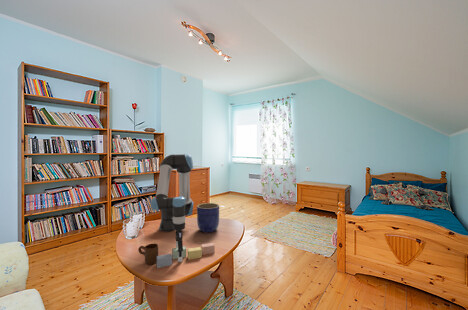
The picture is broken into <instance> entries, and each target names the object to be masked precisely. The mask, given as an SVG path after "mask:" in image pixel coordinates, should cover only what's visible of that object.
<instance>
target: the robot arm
mask: <svg viewBox="0 0 468 310" xmlns="http://www.w3.org/2000/svg"><path fill="white" fill-rule="evenodd" d="M158 169H159V176H158V180H157V187H156V193H155V197H154V198H153V197H152V198H151V200H150V209H151V210H152V211H153V210H154V211H160V213H161V214H160V215H161V216H160V217H161V219H160V223H159V225H158V230H159V231H160V232H162V233H167V232H168V233H169V232H173V231H175V248H178V250H177V252H178V258H177V262H178V263H182V262H183V261H184V260H183V258H184V257H183V245H184V244H183V243H184V242H183V237H184V236H183V233H184V232H183V230H185V229H186V217H188V216H192V214H193V210H194V201H193V200H192V198H191V189H190V188H191V186H190V184H191V183H190V182H191V181H190V180H191V178H190V175H191V174H190V173H191V172H192V170H193V169H194V163H193V157H192V154H186V153H185V154H169V155H167V156H166V157H164V158H163V159H162V160H161V162H160V164H159V168H158ZM173 170H176V173H178V192H179V196H176V197H168V195H169V188H170V180H171V179H170V178H171V172H172V171H173Z"/></svg>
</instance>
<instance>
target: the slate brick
mask: <svg viewBox="0 0 468 310" xmlns="http://www.w3.org/2000/svg"><path fill="white" fill-rule="evenodd" d="M172 265H173V258H172V253H166V254H161V255H158V256H157V262H156V268H157V269H159V268H163V267H170V266H172Z"/></svg>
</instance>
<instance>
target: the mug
mask: <svg viewBox="0 0 468 310" xmlns="http://www.w3.org/2000/svg"><path fill="white" fill-rule="evenodd" d="M143 250H144V251H143ZM138 253H139V254H140V255H143V256H144V263H145V265H147V266H149V265H150V266H151V265H154V264H157V256H159V244H158V243H149V244H146V245H139V247H138Z"/></svg>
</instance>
